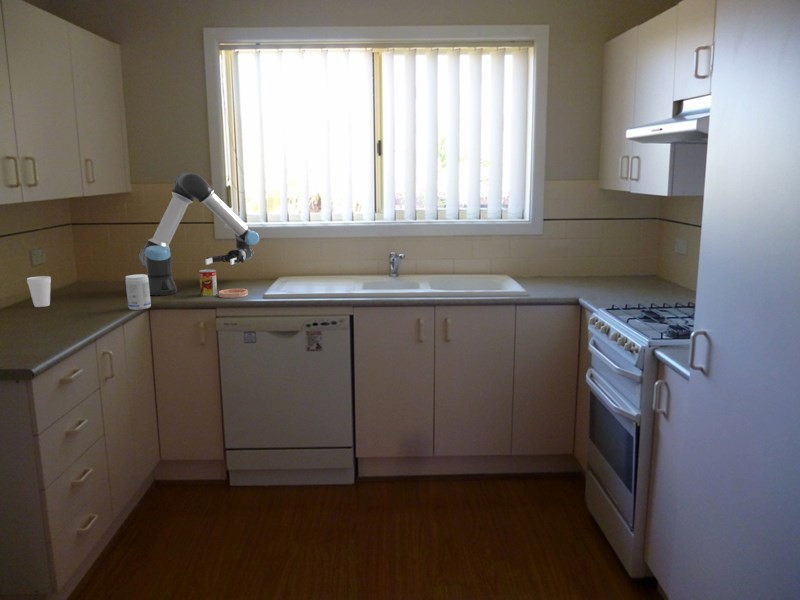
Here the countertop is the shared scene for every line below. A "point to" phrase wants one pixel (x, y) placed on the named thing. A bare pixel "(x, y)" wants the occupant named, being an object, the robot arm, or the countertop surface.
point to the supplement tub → (138, 292)
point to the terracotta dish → (233, 293)
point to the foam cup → (40, 290)
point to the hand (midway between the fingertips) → (218, 262)
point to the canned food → (208, 282)
